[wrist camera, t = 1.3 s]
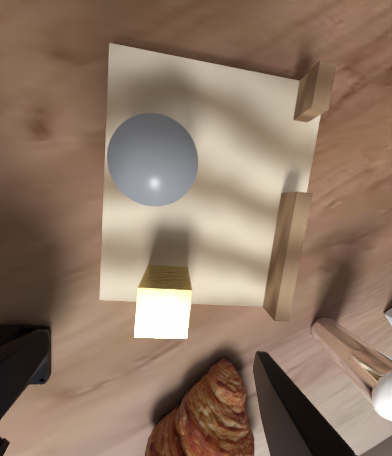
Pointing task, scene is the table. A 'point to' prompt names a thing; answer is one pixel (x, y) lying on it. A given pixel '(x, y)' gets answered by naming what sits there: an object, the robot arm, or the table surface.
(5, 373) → the robot arm
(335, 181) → the table surface
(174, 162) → the grey rounded knob
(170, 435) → the pastry
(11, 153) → the table surface
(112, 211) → the board
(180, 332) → the tab
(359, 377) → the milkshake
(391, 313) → the supplement box
